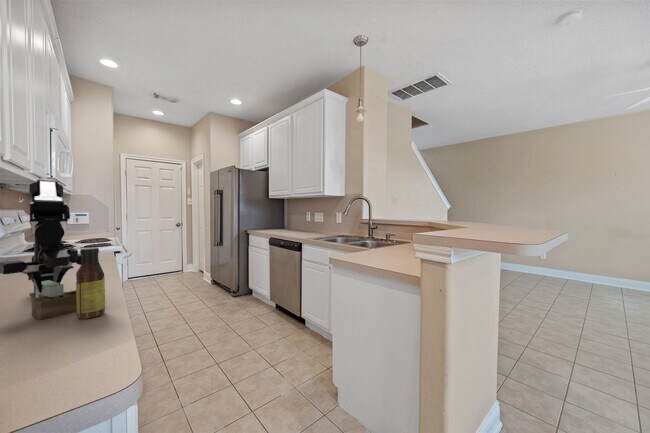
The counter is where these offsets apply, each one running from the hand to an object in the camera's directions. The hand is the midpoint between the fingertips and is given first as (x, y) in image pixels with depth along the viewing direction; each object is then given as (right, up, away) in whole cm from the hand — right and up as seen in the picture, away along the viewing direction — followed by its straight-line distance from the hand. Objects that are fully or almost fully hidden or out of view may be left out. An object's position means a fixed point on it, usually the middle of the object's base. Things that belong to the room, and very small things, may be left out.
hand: (47, 291), depth 79 cm
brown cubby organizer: (+5, -6, 0) cm, 8 cm away
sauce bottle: (+16, -7, -3) cm, 17 cm away
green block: (+1, -6, 0) cm, 6 cm away
